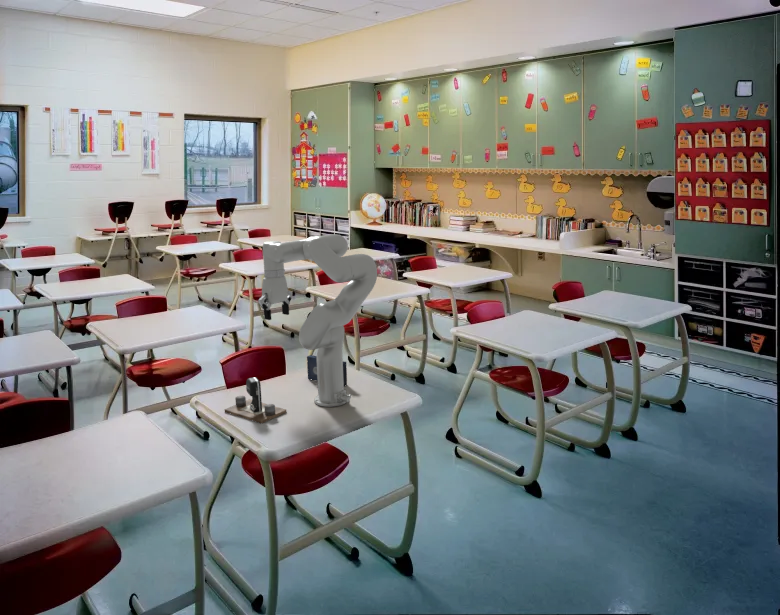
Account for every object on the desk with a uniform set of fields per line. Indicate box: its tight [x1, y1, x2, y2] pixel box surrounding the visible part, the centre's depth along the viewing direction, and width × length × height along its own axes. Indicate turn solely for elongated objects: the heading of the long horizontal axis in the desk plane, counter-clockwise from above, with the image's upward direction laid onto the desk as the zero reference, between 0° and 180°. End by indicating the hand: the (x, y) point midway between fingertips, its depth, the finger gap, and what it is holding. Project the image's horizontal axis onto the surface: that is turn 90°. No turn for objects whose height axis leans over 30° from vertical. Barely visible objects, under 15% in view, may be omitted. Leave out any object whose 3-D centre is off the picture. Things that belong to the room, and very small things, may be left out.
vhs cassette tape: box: [306, 354, 348, 387], centre depth 258 cm, size 18×3×10 cm, turn 57°
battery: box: [245, 377, 263, 412], centre depth 227 cm, size 7×4×11 cm, turn 27°
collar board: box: [224, 395, 287, 424], centre depth 229 cm, size 19×12×4 cm, turn 55°
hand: (277, 316), depth 249 cm, fingers open, 9 cm apart
